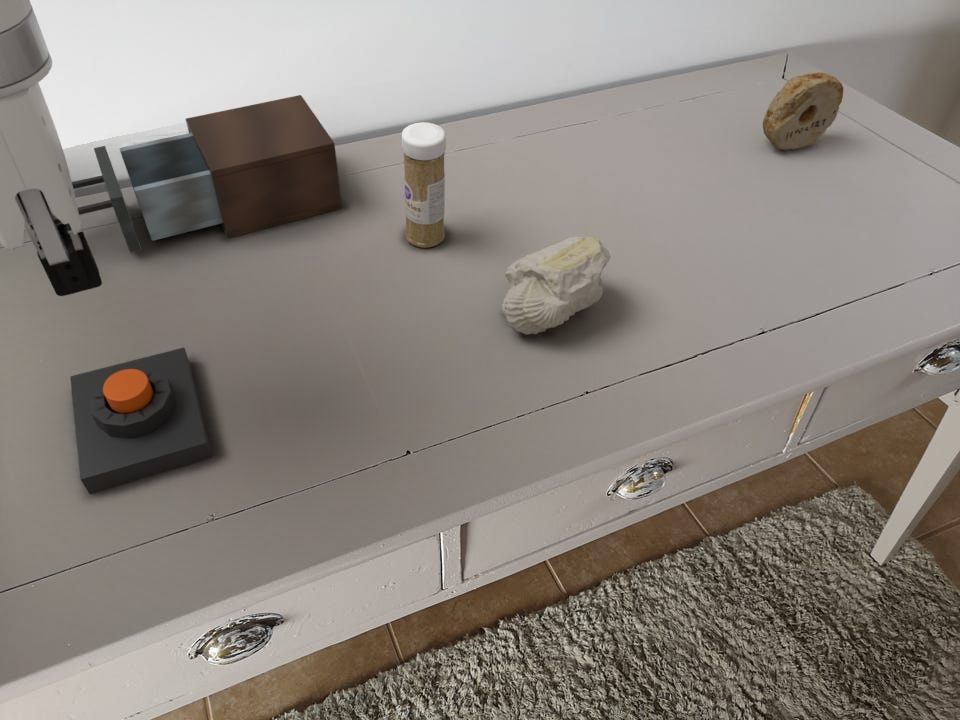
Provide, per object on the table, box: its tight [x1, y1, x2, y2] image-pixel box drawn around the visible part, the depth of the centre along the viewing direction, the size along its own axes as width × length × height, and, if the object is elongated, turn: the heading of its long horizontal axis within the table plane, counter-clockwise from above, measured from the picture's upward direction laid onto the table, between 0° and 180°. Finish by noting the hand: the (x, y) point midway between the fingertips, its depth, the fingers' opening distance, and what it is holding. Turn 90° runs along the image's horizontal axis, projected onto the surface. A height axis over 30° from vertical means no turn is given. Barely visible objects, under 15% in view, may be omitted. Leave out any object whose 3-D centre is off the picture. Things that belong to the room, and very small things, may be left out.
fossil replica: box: [501, 236, 611, 335], centre depth 78 cm, size 12×8×10 cm
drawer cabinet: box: [185, 94, 343, 239], centre depth 90 cm, size 14×12×9 cm
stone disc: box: [762, 72, 844, 151], centre depth 102 cm, size 10×4×10 cm, turn 111°
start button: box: [103, 369, 153, 413], centre depth 66 cm, size 4×4×2 cm
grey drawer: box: [72, 132, 223, 254], centre depth 85 cm, size 18×10×7 cm, turn 117°
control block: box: [69, 347, 213, 494], centre depth 68 cm, size 12×10×4 cm
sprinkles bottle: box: [401, 121, 447, 249], centre depth 84 cm, size 5×5×13 cm
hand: (79, 284), depth 58 cm, fingers closed
